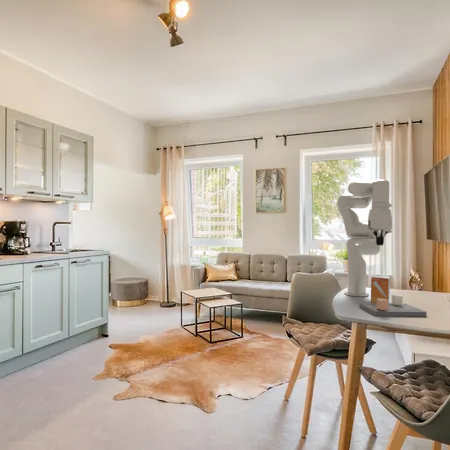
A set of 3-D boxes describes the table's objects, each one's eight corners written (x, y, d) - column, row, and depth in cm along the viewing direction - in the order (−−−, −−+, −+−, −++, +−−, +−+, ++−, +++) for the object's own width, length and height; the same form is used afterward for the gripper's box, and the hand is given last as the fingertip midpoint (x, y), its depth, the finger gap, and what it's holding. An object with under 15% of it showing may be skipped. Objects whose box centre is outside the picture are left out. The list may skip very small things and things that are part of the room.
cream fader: (391, 303, 164) (391, 294, 164) (397, 303, 164) (397, 294, 164) (396, 304, 160) (396, 295, 160) (402, 304, 160) (402, 295, 160)
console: (359, 307, 164) (359, 303, 164) (405, 307, 165) (405, 303, 165) (375, 316, 148) (375, 311, 148) (426, 316, 149) (426, 311, 149)
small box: (370, 303, 175) (370, 276, 175) (372, 300, 180) (372, 275, 180) (388, 305, 171) (388, 278, 171) (389, 302, 176) (390, 276, 176)
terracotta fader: (376, 307, 154) (376, 298, 154) (383, 307, 154) (383, 298, 154) (381, 309, 150) (381, 300, 150) (388, 310, 150) (388, 300, 150)
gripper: (391, 207, 171) (391, 245, 171) (361, 206, 170) (360, 244, 170) (400, 206, 163) (399, 245, 163) (368, 205, 163) (367, 245, 162)
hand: (379, 245), depth 167 cm, fingers closed
